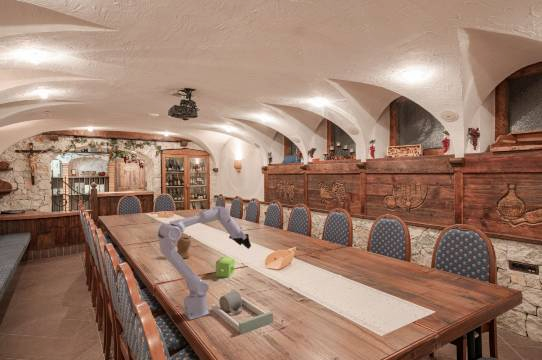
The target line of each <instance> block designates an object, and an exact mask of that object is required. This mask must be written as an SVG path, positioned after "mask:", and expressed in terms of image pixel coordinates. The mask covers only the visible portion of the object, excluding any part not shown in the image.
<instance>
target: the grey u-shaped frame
mask: <svg viewBox="0 0 542 360" xmlns="http://www.w3.org/2000/svg"><path fill="white" fill-rule="evenodd" d="M241 298H242V304H241V305H242V306H244V307H246V308H247V309H249V310H250V311H251V312H253V313H255V314H256V315H257V316H254V317H250V318H247V319H245V320H242V321H239V322H238V321H237V320H236V319H234V318H233V317H232V316H231V315H229V314H228V313H226V312H225V311H223V310H222V309H221V307H219V306H218V305H216V304H215V303H212V304H211V311H212V312H213V313H215V314H216V315H217V316H218V317H219V318H220V319H222V320H223V321H225V322H226V323H227V324H228V325H230V327H232V328H234V330H235V331H237V332H238V333H239V334H240V335H242V334H245V333H248V332H250V331H253V330H257V329H258V328H259V329H260V328H262V327H264V326H267V325H270V324H273V323H274V313H273V311H269V312H267V311H265V310H263V309H262V308H261V307H259V306H257V305H256V304H254V303H253V302H251V301H249V300H247V298H244V297H243V296H241Z"/></svg>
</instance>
